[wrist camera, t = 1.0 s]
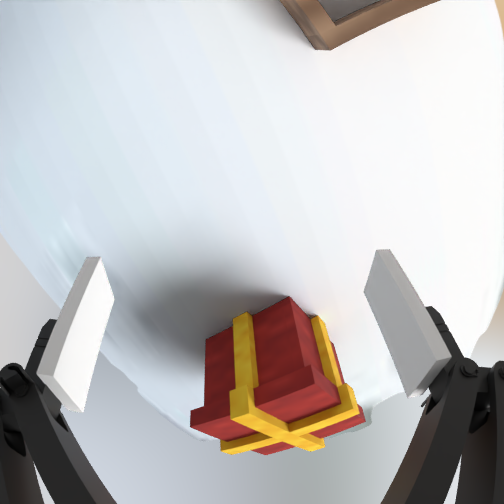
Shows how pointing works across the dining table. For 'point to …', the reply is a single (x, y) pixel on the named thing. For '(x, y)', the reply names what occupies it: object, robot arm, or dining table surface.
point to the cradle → (345, 19)
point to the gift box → (274, 384)
